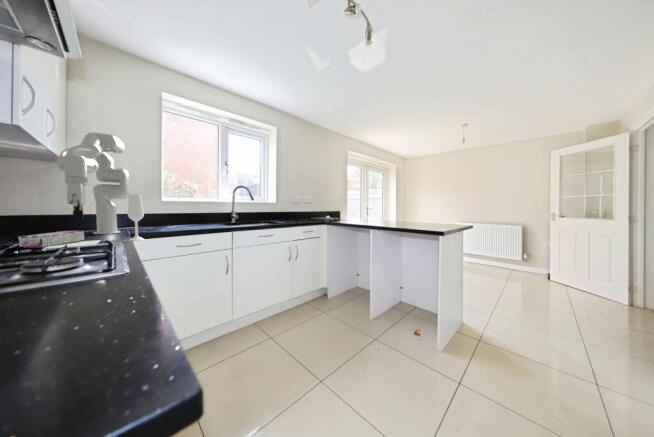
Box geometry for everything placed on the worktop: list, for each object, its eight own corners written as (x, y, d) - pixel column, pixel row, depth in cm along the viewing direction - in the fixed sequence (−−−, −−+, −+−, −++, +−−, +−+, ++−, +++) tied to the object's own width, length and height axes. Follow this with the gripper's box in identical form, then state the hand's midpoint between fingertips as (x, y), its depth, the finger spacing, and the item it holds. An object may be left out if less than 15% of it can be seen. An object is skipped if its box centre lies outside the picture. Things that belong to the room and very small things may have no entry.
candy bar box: (65, 240, 115) (18, 247, 99) (64, 230, 115) (17, 236, 99) (85, 240, 114) (41, 247, 98) (84, 230, 114) (39, 235, 97)
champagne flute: (126, 240, 120) (124, 194, 118) (131, 239, 126) (129, 194, 125) (142, 240, 122) (140, 194, 121) (146, 238, 128) (145, 195, 127)
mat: (56, 243, 109) (56, 242, 109) (100, 240, 119) (100, 240, 119) (42, 249, 95) (42, 248, 95) (94, 245, 104) (94, 244, 104)
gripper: (69, 181, 116) (71, 218, 117) (60, 179, 105) (62, 219, 106) (90, 182, 121) (92, 217, 122) (84, 180, 109) (86, 219, 110)
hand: (78, 218), depth 114 cm, fingers closed
